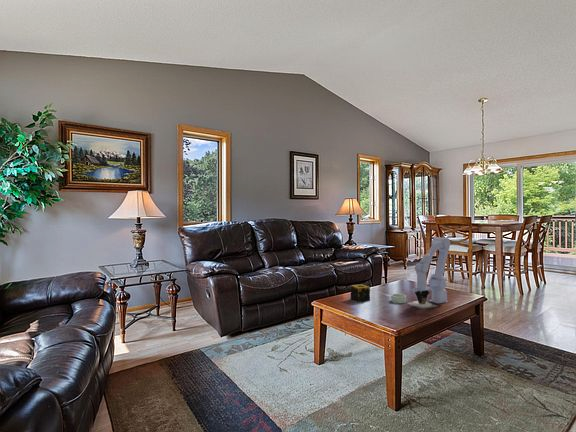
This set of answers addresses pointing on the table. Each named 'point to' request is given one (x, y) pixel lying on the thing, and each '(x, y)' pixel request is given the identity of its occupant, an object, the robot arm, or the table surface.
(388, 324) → the table surface
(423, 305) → the lid
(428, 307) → the mat
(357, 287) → the candle
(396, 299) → the bowl
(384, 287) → the table surface
